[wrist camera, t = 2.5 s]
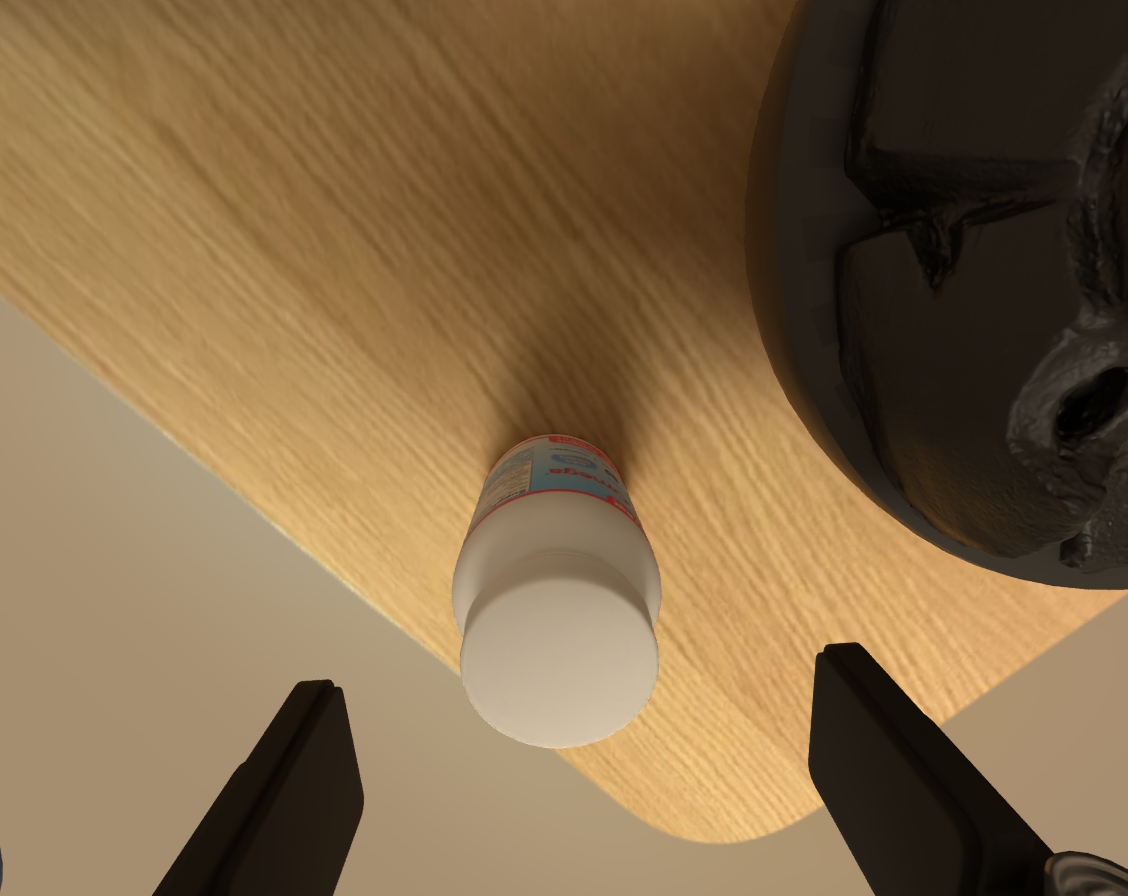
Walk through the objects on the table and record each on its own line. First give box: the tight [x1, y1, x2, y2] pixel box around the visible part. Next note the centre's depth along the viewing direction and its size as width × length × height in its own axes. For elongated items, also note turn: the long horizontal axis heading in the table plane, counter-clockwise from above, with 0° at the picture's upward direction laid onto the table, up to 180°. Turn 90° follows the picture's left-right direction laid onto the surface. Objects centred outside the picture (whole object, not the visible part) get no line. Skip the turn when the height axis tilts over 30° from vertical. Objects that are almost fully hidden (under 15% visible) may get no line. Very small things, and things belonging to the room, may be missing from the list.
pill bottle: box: [452, 434, 661, 748], centre depth 18 cm, size 6×6×11 cm
